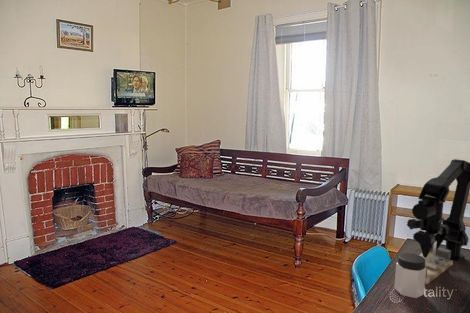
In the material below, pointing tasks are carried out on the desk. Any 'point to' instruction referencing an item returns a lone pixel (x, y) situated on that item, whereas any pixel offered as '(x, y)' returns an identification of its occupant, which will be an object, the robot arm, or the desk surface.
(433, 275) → the base
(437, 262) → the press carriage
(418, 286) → the jar
